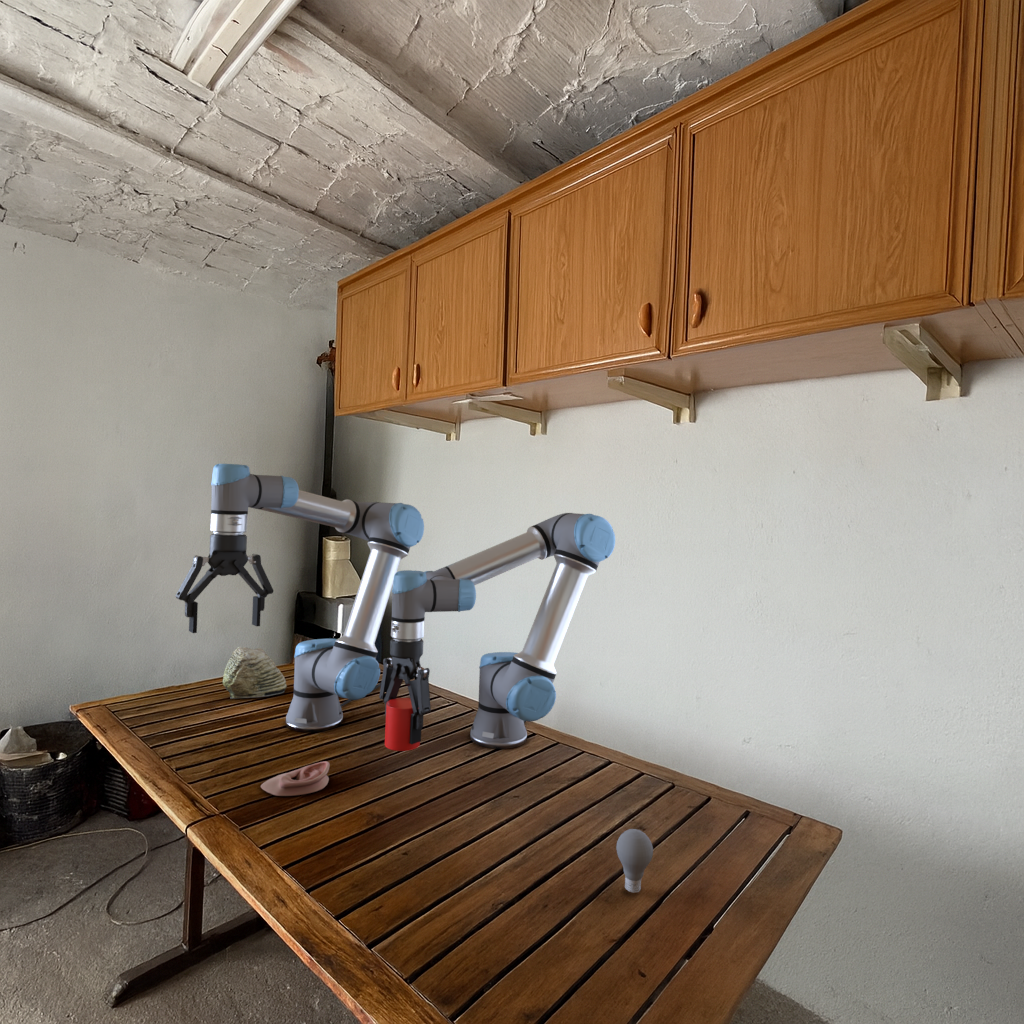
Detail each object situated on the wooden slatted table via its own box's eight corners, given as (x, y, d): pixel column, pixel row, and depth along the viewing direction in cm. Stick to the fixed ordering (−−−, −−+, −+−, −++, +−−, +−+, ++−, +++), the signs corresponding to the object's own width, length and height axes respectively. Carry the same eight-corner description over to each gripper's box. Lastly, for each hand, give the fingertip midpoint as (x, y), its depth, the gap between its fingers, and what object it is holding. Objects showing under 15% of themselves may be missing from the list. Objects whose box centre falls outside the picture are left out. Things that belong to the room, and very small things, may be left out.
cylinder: (377, 743, 145) (379, 702, 145) (405, 735, 151) (407, 695, 151) (398, 754, 140) (400, 711, 140) (427, 745, 146) (428, 703, 146)
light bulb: (610, 879, 108) (613, 822, 108) (644, 879, 109) (647, 822, 109) (619, 902, 102) (622, 840, 102) (655, 901, 103) (658, 840, 103)
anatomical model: (253, 773, 134) (283, 753, 145) (252, 792, 134) (282, 770, 145) (310, 782, 131) (336, 760, 142) (309, 801, 131) (335, 777, 143)
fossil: (218, 695, 195) (220, 647, 195) (278, 685, 208) (279, 640, 207) (228, 703, 189) (230, 653, 188) (289, 692, 201) (290, 645, 201)
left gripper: (172, 534, 129) (169, 638, 130) (290, 534, 147) (286, 625, 147) (161, 532, 135) (158, 631, 135) (276, 532, 152) (273, 620, 152)
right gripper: (366, 632, 149) (362, 728, 150) (424, 649, 135) (420, 754, 136) (391, 628, 155) (387, 721, 155) (450, 644, 141) (445, 745, 142)
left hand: (225, 628), depth 141 cm, fingers open, 13 cm apart
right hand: (402, 736), depth 146 cm, fingers closed on cylinder, 8 cm apart
